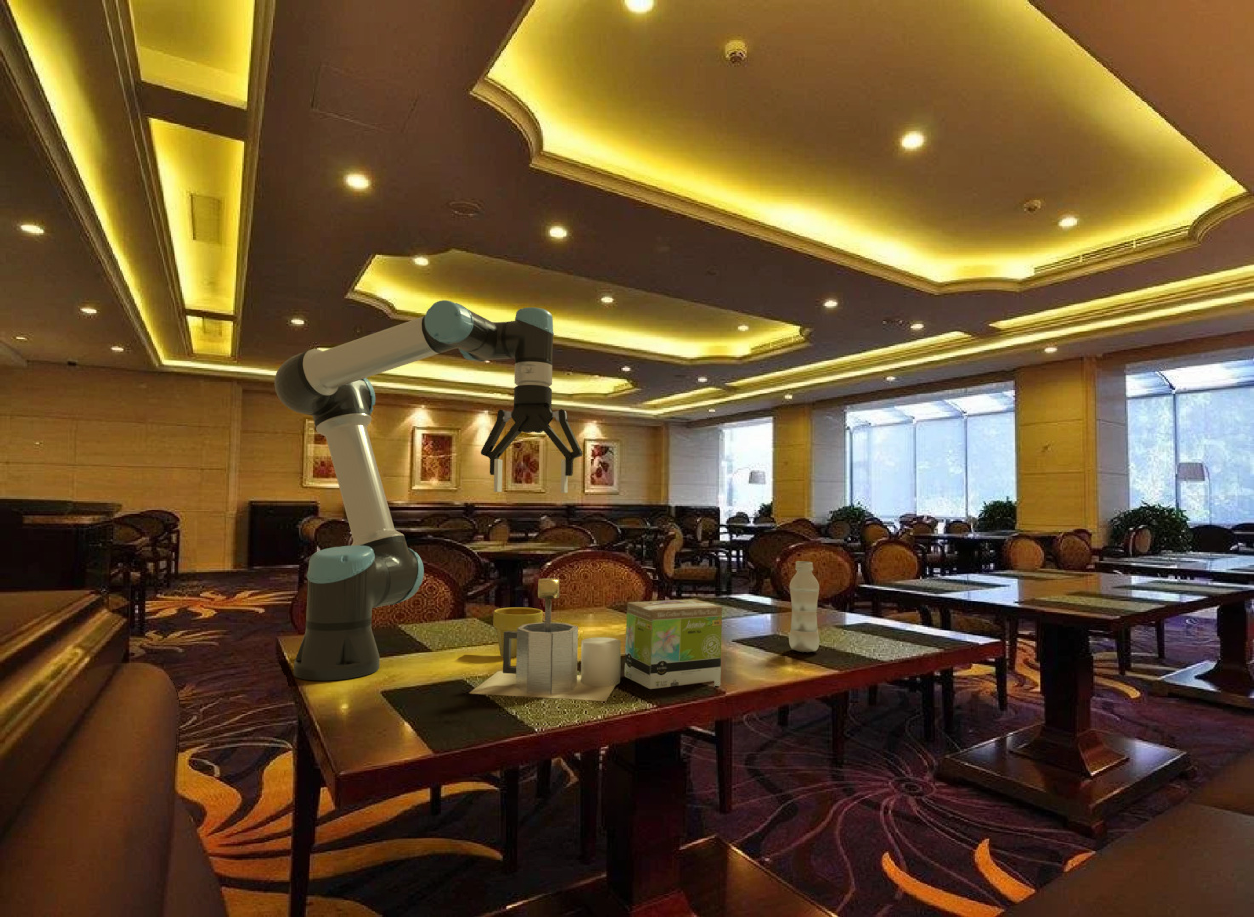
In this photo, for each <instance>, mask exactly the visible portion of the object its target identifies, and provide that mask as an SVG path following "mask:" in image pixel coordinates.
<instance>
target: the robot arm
mask: <svg viewBox="0 0 1254 917" xmlns="http://www.w3.org/2000/svg"><path fill="white" fill-rule="evenodd" d="M553 320H554V319H553V315H552V313H551V312H549V311H548V310H547V309H544V308H540V307H532V306H531V307H524V308H519V309H518V310H517V311H516V313H515V317H514V320H511V321H500V322H499V321H498V322H495V321H491V320H489V319H487V318H485V317H483V316H481V315H479V314H477V313H476V312H474V311H472V310H470V309H469V308H466V306H463V305H462V304H461V303H457V302H453V301H451V300H446V299H445V300H443V299H442V300H438V301H436V302H434V303H433V304H432V305H431V306H430V307H429V308H428V309H427V311H426V313H425V315H424V316H420V317H418V318H415V319H412V320H409V321H406V322H403V323H401V324H397V325H394V326H391V327H389V328H385V329H382V330H380V331H377V332H374V333H371V334H368V335H365V336H362V337H360V338H358V339H353V340H352V341H348V342H345V343H343V344H339V345H336V346H333V347H331V348H328V349H325V350H321V349H319V348H318V349H317V348H313V349H309V350H306V351H303V352H300V353H298V354H296V355H293V356H291V357H290V358H288V359H287V360H285V361H283V363H282V364H281V365H280V366H279V367H278V369H277V371H276V373H275V375H274V376H275V377H274V390H275V393H276V395H277V397H278V399H279V400H280V401H281V403H282V404H283V405H284V406H285V407H286V408H288V409H289V410H291V411H293V412H296V413H299V414H302V415H307V416H312V419H313V423H314V427H315V431H316V432H317V433H318V434H320V435H322V436H324V437H325V439H326V443H327V446H328V450H329V455H330V457H331V462H332V464H333V465H332V466H333V469H334V473H335V476H336V480H337V484H338V487H339V492H340V494H341V498H342V503H343V507H344V510H345V513H346V517H347V518H346V519H347V522H348V524H349V528H350V532H351V536H352V537H351V538H352V540H353V541H352V544H350V545H342V546H334V547H329V548H324V549H320V550H318V551H315V552H314V553H313V554H312V555H311V556H310V558H309V561H308V569H307V574H306V578H307V579H306V580H307V581H306V582H307V583H306V584H307V585H306V587H307V588H306V610H305V611H306V612H305V614H306V615H305V616H306V617H305V633H304V635H303V639H302V640H301V644H300V647H299V649H298V650H297V654H296V657H295V659H294V663H293V676H294V677H296V678H297V679H301V680H307V681H339V680H347V679H348V680H349V679H354V678H355V679H356V678H360V677H365V676H367V675H371V674H373V673H375V672H377V671H379V669H380V658H381V657H380V654H379V651H378V646H377V643H376V640H375V637H374V632H373V630H372V621H373V620H372V618H373V617H372V615H373V609H377V608H379V607H385V606H393V605H395V606H396V604H400V603H402V602H405V601H407V600H409V599H410V598H412V597H413V596H415V595H416V593H417V592H418V591H419V589H420V586H421V585H422V583H423V579H424V575H425V570H424V569H425V568H424V563H423V560H422V558H421V557H420V555H419V554H418V553H417V551H414V550H413V549H411V548H410V547H408V545H407V541H406V538H405V535H404V534H403V533H401V532H400V531H397V530H396V529H395V526H394V522H393V518H392V514H391V510H390V508H389V505H388V500H387V497H386V493H385V489H384V485H383V482H382V478H381V475H380V472H379V468H378V464H377V460H376V457H375V453H374V449H373V447H372V446H373V445H372V443H371V439H370V435H369V432H368V426H369V425H370V424H371V422H372V419H373V418H372V416H371V414H372V413H373V411H374V408H373V407H374V405H376V393H375V389H374V387H373V385H372V383H371V381H370V380H369V377H372V376H376V375H378V374H382V373H384V372H388V371H391V370H394V369H397V368H400V367H403V366H406V365H409V364H412V363H416V362H418V361H420V360H424V359H427V358H429V357H433V356H435V355H438V354H439V355H440V354H442V353H446V352H448V351H451V350H455V349H458V350H459V352H460V354H462V357H463V358H464V359H465V360H467V361H479V362H484V361H495V360H509V359H510V360H511V359H514V384H515V387H514V388H513V409H512V411H508V410H507V411H506V410H503V409H498V411H497V416H496V420H495V423H494V425H493V427H492V428H491V431H490V433H489V434H488V437H487V439H486V440H485V442H484V445H483V447H482V448H481V450H480V455H482V456H484V457H486V458H488V459H489V474H490V475H491V476H493V493H502V491H503V490H502V489H503V461H504V460H503V459H500V457H501V456H502V455H503V454H504V452H505V451H506V450H507V449H508V447H510V445H511V444H513V442H514V440H515V439H517V437H518V436H519V435H520V434H521V433H525V434H531V433H536V434H541V433H542V432H544V433H545V434H546V436H547V437H548V438H549V439H550V440H551V442H552V443H553V444H554V445H555V447H556V448H557V449H558V450H559V451H560V453H561V454H562V455H563V457H565V459H561V461H560V462H561V463H560V494H561V493H563V494H568V493H569V492H568V490H569V488H568V486H569V482H568V480H569V477H572V476H573V474H574V459H576V458H579V457H582V456H583V451H582V449H581V446H580V445H579V442H578V440H577V437H576V436H575V434H574V432H573V430H572V428H571V426H570V423H569V420H568V417H569V416H568V412H567V411H566V410H564V409H562V408H561V409H559V410H556V411H553V409H552V400H553V399H552V398H553V397H552V396H553V395H552V394H553V390H552V388H551V387H550V386H552V385H553V350H554V349H553V345H554V335H555V333H554V324H553V323H554V322H553ZM554 418H555V420H556V421H557V422H559V425H560V427H561V428H562V431H563V433H564V434H565V437H566V440H567V441H568V443H569V446H570V448H571V450H572V451H571V450H570V449H569V448H568V446H566V445H565V443H564V442H563V440H561V438H560V437H559V435H557V433H556V432H555V430H554V429H553V427H551V425H550V423H551V422H552V420H554ZM510 419H512V420H513V422H514V424H513V425H512V426H511V427H510V428H509V431H507V433H506V434H505V435H504V436H503V438H502V439H501V440H500V441H499V442H498V440H499V438H500V436H501V434H502V432H503V430H504V428H505V426H506V424H507V423H508V422H509V421H510ZM497 442H498V443H497Z"/></svg>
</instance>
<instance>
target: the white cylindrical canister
mask: <svg viewBox="0 0 1254 917" xmlns="http://www.w3.org/2000/svg"><path fill="white" fill-rule="evenodd" d="M580 642H581V647H580V650H581V651H580V658H581V659H580V675H581V683H582V684H585V685H588V686H596V687H605V686H613V685H615V686H617V685H618V684H620V683H621V654H622V652H621V650H622V648H621V647H622V646H621V644H622V642H621V640H620V639H617V638H615V637H614V638H613V637H603V636H602V637H600V636H599V637H590V638H589V637H588V638H584V639H582V640H581V641H580Z"/></svg>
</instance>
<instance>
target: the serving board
mask: <svg viewBox="0 0 1254 917" xmlns="http://www.w3.org/2000/svg"><path fill="white" fill-rule="evenodd" d="M615 687H616V685H613V686H605V687H596V686H588V685H585V684H582V683H581V674H577V685H576V687H575V688H574V689H573V690H572V691H569V692H564V693H558V694H553V695H544V694H528V693H525V692H523V691H521V690H519V689H517V688H516V674H510V673H503V670H498V671H496V672H495V673H494V674H493V675H491V676H490V677H489V678H487V679H486V680H484V681H483V682H482V683H480V684H479V685H477V686H476V687H475V688H474V689H471V691H470V692H469V694H471V695H490V696H510V697H525V698H526V697H527V698H545V699H559V700H560V699H561V700H562V699H563V700H580V701H596V702H597V701H598V702H607V700H608V698H609V697H610V695H611V694H612V692H613V690H614V688H615Z"/></svg>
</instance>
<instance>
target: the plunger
mask: <svg viewBox="0 0 1254 917" xmlns="http://www.w3.org/2000/svg"><path fill="white" fill-rule="evenodd" d="M537 584H538V586H537V598H538V599H545V604H544V606H545V607H544V608H545V615H544V616H545V617H544V622H545V632H551V622H552V600H553V599H558V598H560V579H559V578H548V577H547V578H539V579H538V582H537Z"/></svg>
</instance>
